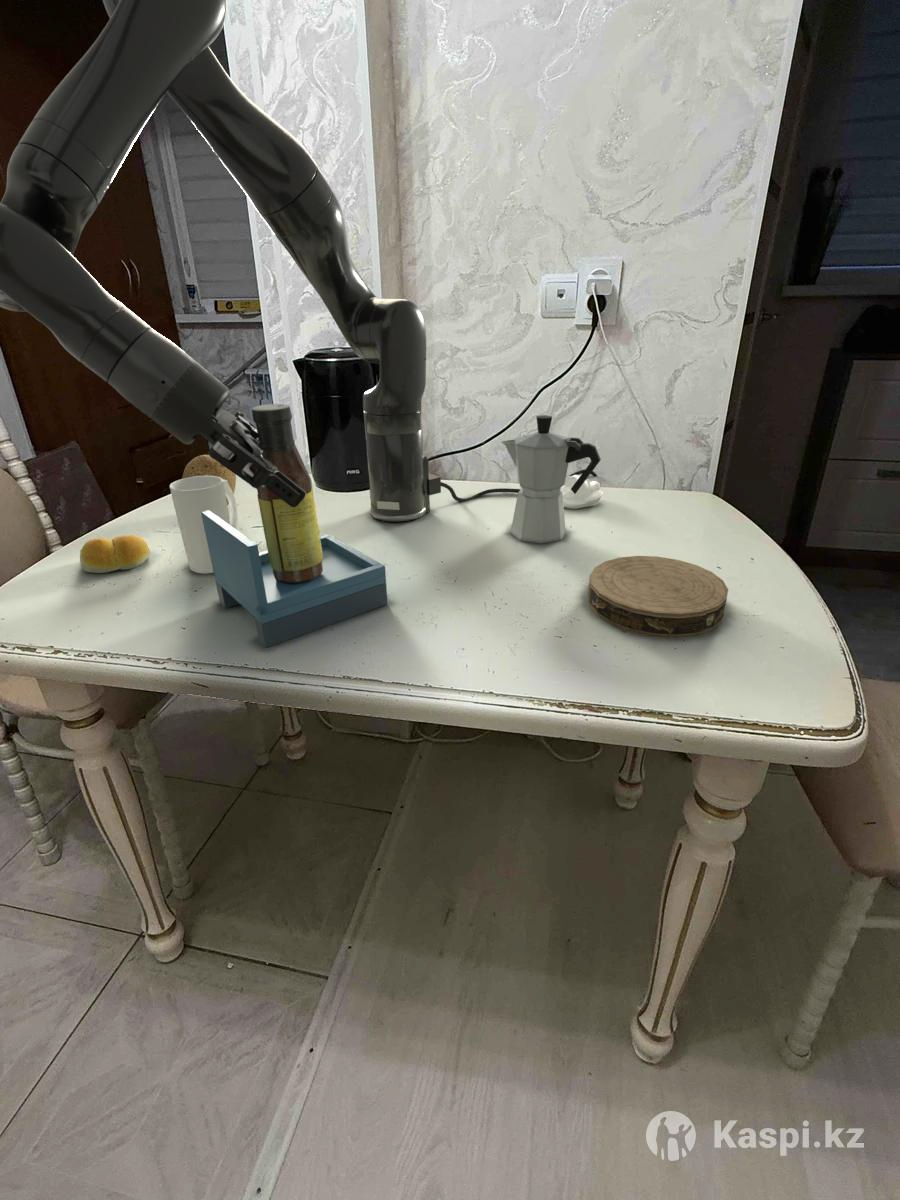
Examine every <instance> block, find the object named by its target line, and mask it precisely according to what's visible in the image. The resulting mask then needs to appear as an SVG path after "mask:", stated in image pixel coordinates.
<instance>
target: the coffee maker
mask: <svg viewBox="0 0 900 1200" xmlns="http://www.w3.org/2000/svg"><path fill="white" fill-rule="evenodd" d="M552 420H553V416H552V415H547V414H544V415H543V414H541V415H540V414H539V415H536V426H537V432H534V433H529V434H526V435H522V436H519V437H515V438H513V439H508V440H503V441H501V442H500V443H501V444H502V445H504V446H505V448H506V449H507V452H508V454H509V456H510V458H511V460H512V462H513V464H514V466H515V471H516V476H517V477H516V478H517V482H518V484H519V487H520V488H519V489H520V491H519V492H518V493H517V497H516V502H515V505H514V512H513V517H512V522H511V528H510V532H509V534H510V535H512V536H513V537H515V538H516V539H517V540H519V541H520V542H528V543H533V544H534V543H535V544H546V543H552V542H558V541H562V539H563V538H564V536H565V535H566V533H567V530H566V529H567V528H566V518H565V507H563V496H562V492H561V491H560V489H561V487H562V486H563V485H564V483H565V478H566V476H567V473H568V468H569V464H570V463H573V462H577V461H580V460H583V459H586V458H589V459H590V462H589V464H588V465H587V467H586V468H585V469H584V470H585V471H584V472H583V473H582V474H580V475H581V476H580V477H579V479H578V480H577V481H576V483H575V484H574V485H573V487H572V488H571V490H572V491H573V492H574V494H576V492H577V491H578V490H579V488H580V487H581V486H582V484H583V483H584V482H585V480H586V479H587V478H588V479H589V477H590V475H592V474H591V472H592V471H593V472H594V470H595V468H596V467H597V465H598V464H599V463H600V462H601V461H602V460H601V459H602V458H601V457H600V454H599V451H598V448H597V447H596V445H594V444H592V443H590V442H584V441H582V439H581V438H580V437H568V436H564V435H561V434H556V433H554V432H550V429H551V425H552Z"/></svg>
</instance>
